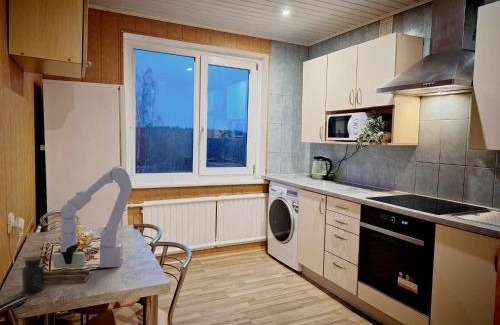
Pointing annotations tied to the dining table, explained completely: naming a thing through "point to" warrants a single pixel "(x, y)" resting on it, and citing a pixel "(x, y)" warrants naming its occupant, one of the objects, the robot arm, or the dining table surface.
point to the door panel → (77, 260)
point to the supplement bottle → (32, 276)
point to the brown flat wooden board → (66, 277)
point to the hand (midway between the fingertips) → (69, 262)
